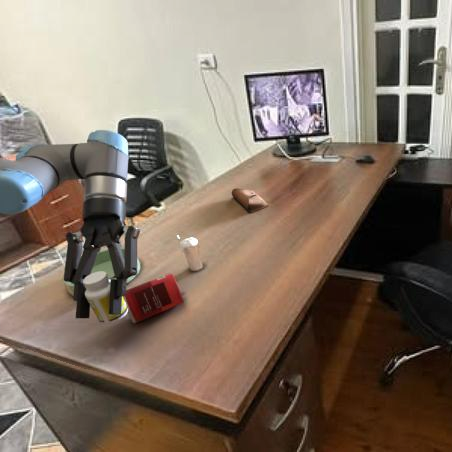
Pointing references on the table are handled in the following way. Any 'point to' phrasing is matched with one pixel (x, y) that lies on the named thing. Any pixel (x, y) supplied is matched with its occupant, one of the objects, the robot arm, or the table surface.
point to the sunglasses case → (249, 199)
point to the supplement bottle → (101, 297)
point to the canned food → (152, 298)
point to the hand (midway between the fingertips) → (98, 316)
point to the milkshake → (191, 253)
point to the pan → (102, 268)
